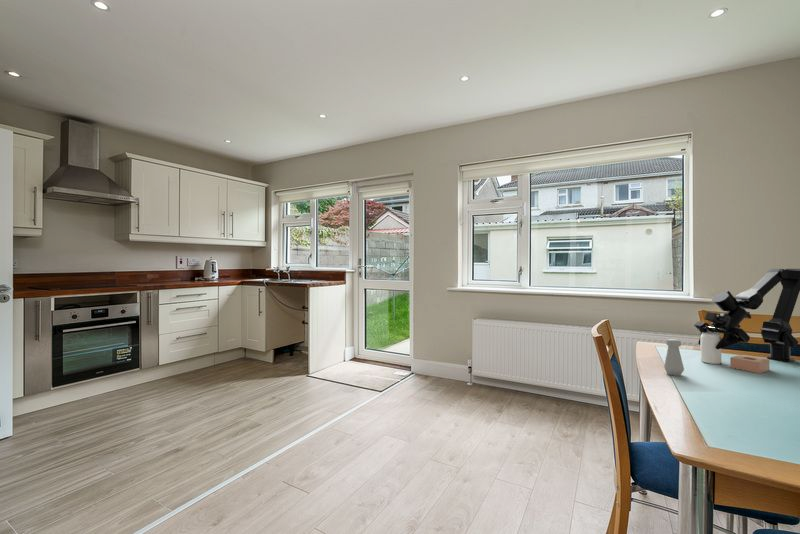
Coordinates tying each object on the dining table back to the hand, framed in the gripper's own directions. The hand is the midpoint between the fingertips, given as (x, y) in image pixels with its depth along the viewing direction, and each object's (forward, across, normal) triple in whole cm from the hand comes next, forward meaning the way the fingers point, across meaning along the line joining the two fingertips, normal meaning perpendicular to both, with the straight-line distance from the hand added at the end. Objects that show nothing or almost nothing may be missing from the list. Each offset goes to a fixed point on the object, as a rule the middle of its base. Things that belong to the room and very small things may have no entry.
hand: (707, 346), depth 146 cm
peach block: (0, +10, +10) cm, 14 cm away
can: (+4, 0, +6) cm, 7 cm away
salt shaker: (+24, +12, -14) cm, 30 cm away
